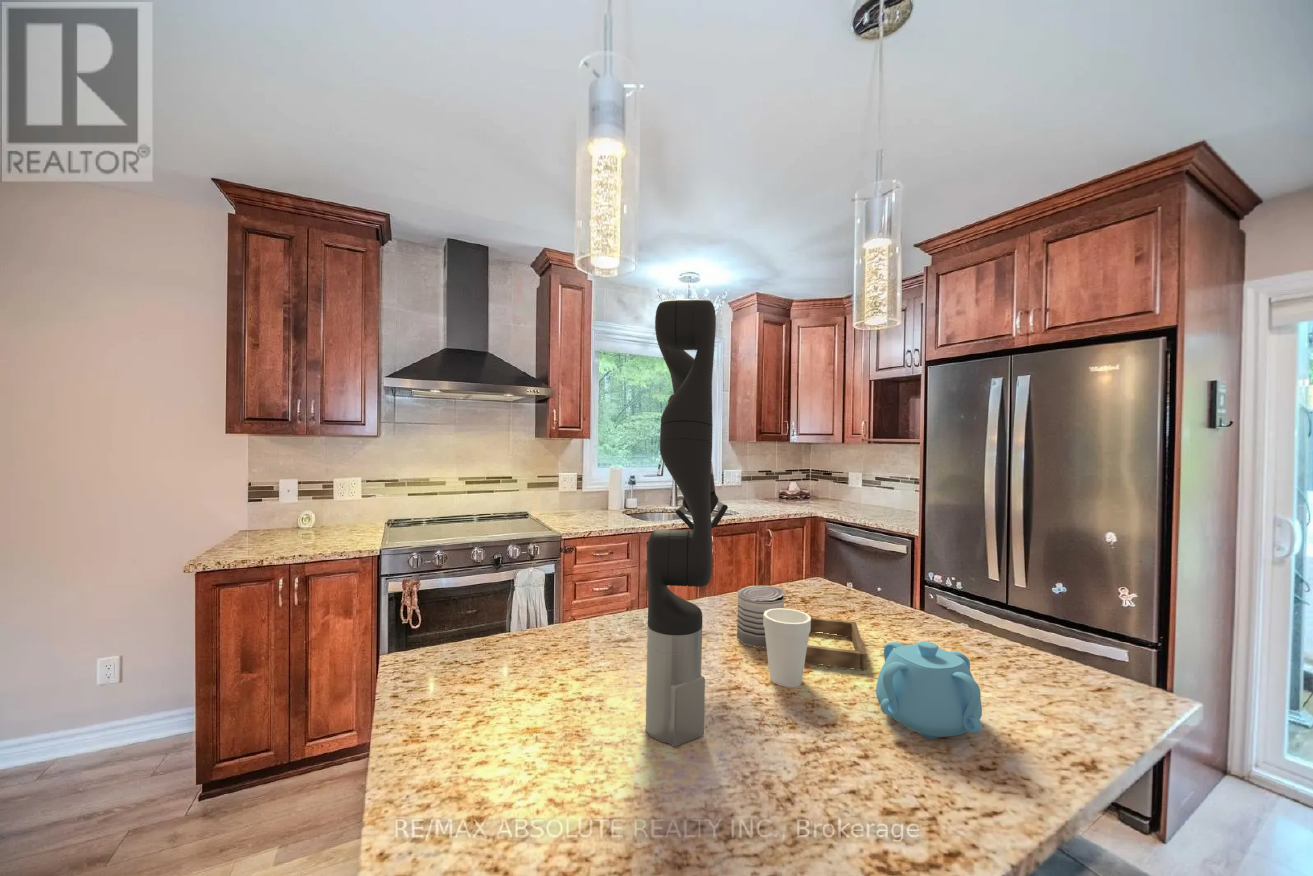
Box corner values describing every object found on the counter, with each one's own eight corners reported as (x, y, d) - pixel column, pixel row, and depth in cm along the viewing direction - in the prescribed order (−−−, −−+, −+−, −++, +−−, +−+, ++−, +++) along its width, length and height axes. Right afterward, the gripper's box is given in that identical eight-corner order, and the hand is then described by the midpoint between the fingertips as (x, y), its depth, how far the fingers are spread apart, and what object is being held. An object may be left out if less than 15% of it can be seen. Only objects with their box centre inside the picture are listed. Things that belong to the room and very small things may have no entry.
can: (788, 649, 119) (789, 598, 119) (740, 648, 119) (741, 597, 120) (778, 631, 131) (779, 584, 131) (733, 630, 131) (734, 583, 131)
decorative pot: (882, 690, 100) (883, 621, 101) (979, 713, 92) (979, 638, 92) (870, 730, 86) (871, 649, 87) (982, 761, 78) (983, 672, 78)
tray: (770, 658, 114) (771, 642, 114) (775, 626, 134) (775, 613, 134) (865, 670, 109) (866, 654, 109) (855, 636, 128) (856, 622, 128)
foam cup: (805, 670, 108) (806, 609, 108) (814, 692, 99) (815, 625, 99) (760, 668, 109) (761, 607, 109) (764, 689, 100) (766, 622, 100)
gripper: (670, 475, 118) (678, 551, 116) (727, 470, 118) (735, 545, 116) (669, 476, 125) (676, 547, 123) (722, 471, 125) (730, 542, 124)
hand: (705, 546), depth 120 cm, fingers closed
